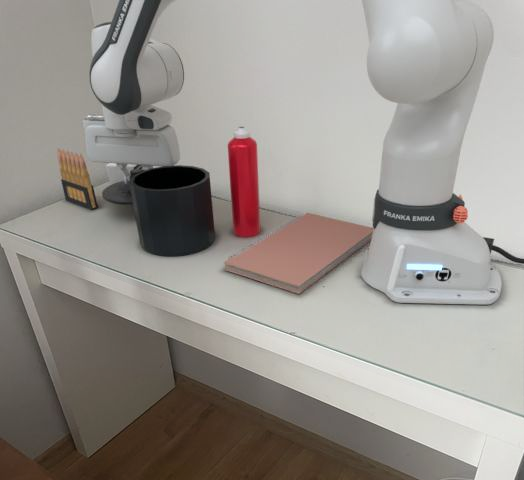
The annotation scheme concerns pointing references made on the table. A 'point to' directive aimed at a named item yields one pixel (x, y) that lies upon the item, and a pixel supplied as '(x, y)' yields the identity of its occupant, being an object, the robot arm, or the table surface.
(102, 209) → the table surface
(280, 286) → the notebook
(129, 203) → the bin lid
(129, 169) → the medicine bottle
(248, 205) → the bottle
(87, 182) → the ammunition clip
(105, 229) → the table surface
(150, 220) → the trash bin
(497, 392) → the table surface
